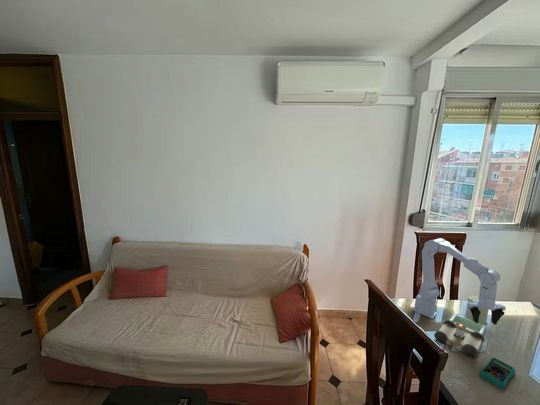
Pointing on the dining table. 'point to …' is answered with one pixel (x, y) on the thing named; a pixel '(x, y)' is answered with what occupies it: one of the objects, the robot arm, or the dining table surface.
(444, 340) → the trolley
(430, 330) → the dining table surface
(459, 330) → the stop pin
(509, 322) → the dining table surface
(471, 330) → the tray
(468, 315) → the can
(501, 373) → the digital multimeter
